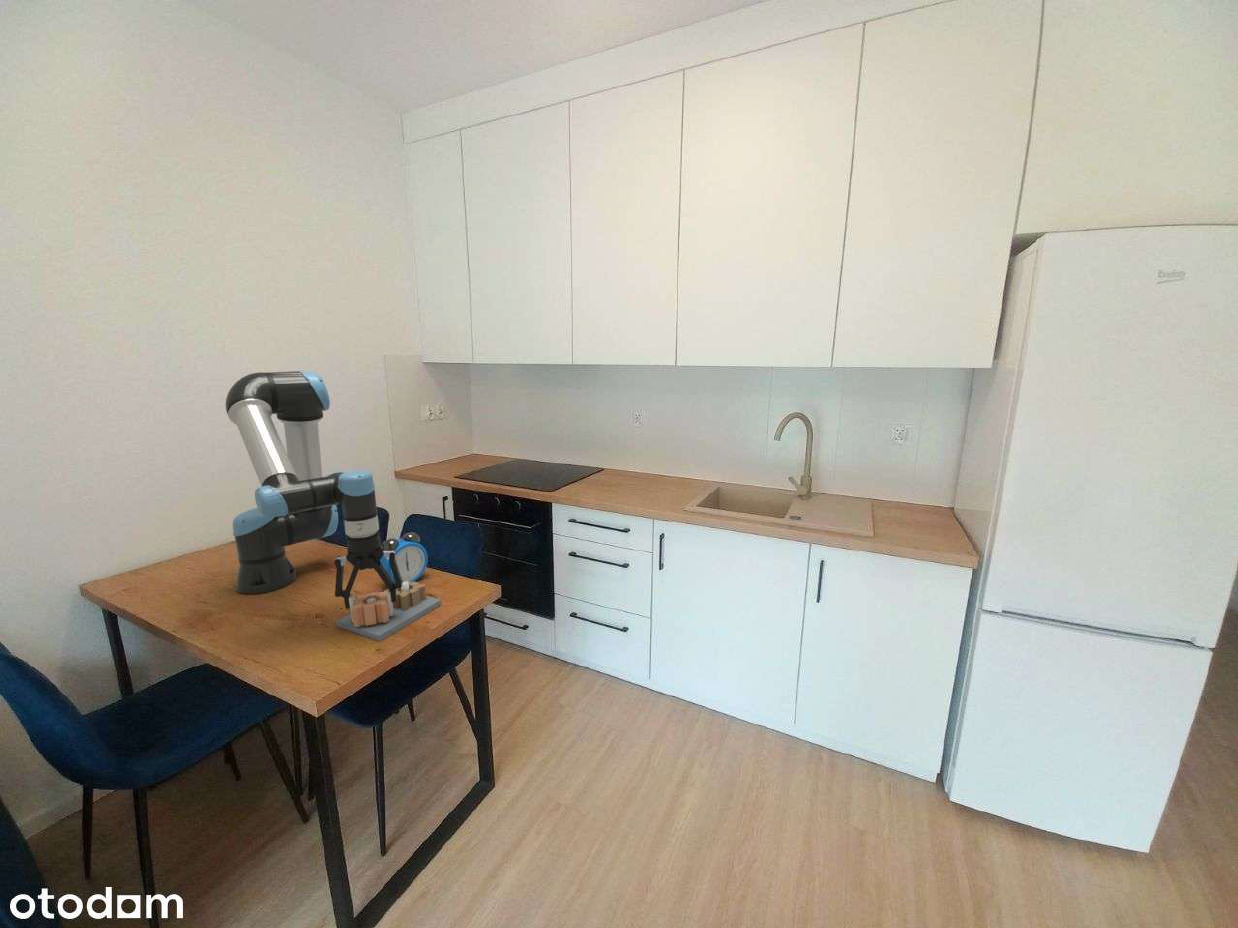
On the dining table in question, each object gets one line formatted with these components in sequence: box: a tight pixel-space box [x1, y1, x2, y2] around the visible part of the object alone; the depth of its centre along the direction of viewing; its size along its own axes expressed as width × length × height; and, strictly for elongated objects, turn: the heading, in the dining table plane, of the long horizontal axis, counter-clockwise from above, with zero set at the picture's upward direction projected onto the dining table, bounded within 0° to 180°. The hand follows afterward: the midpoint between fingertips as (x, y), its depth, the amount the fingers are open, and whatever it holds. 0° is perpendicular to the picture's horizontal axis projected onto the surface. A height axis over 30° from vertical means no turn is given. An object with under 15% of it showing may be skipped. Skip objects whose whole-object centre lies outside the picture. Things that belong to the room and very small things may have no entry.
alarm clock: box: [380, 532, 429, 583], centre depth 150 cm, size 13×6×15 cm, turn 143°
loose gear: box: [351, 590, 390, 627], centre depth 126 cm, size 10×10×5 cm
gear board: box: [335, 580, 442, 642], centre depth 131 cm, size 16×20×7 cm
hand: (373, 615), depth 127 cm, fingers closed on loose gear, 8 cm apart
